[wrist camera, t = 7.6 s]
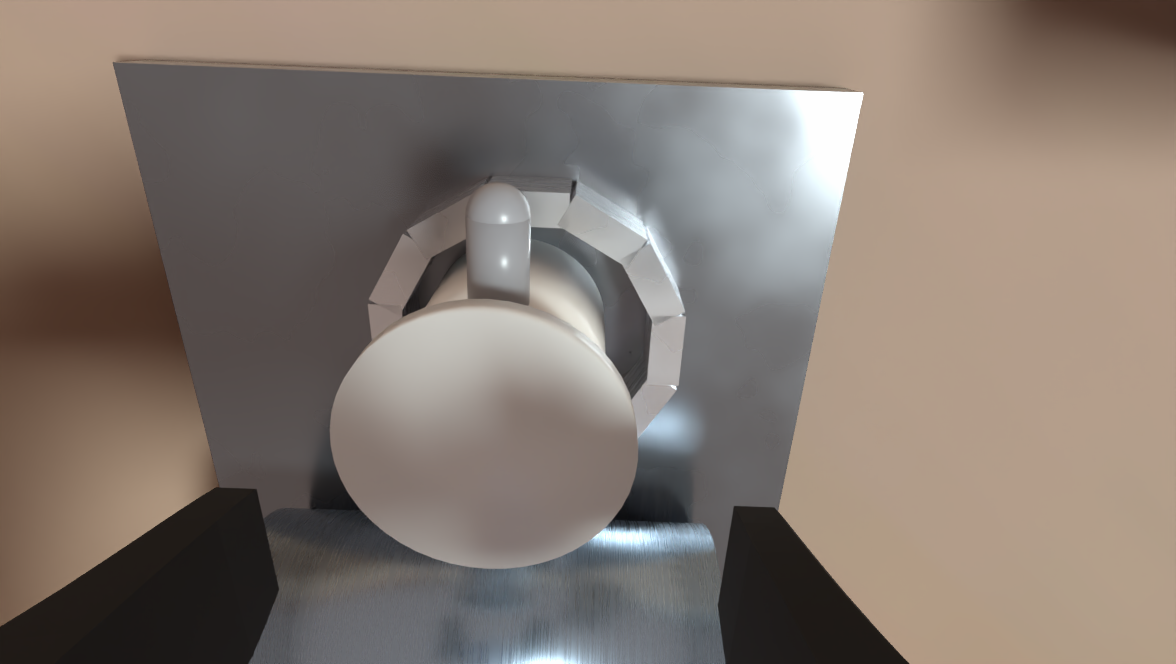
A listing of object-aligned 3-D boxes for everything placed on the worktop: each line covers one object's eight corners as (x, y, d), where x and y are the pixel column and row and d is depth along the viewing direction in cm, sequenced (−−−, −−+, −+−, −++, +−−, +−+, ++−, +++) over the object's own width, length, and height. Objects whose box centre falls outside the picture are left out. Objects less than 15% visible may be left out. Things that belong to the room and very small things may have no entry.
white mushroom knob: (617, 414, 19) (626, 575, 13) (420, 404, 19) (347, 561, 13) (639, 151, 15) (662, 220, 10) (402, 139, 15) (296, 201, 10)
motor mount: (742, 618, 24) (799, 845, 17) (271, 601, 24) (146, 821, 17) (845, 88, 16) (1016, 132, 9) (146, 60, 16) (-169, 85, 9)
